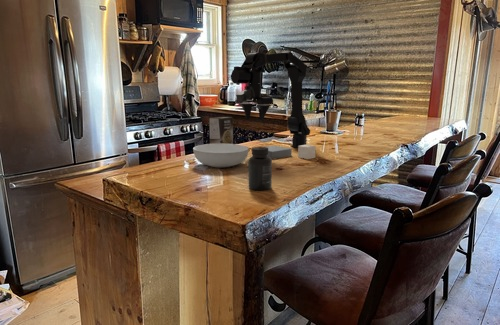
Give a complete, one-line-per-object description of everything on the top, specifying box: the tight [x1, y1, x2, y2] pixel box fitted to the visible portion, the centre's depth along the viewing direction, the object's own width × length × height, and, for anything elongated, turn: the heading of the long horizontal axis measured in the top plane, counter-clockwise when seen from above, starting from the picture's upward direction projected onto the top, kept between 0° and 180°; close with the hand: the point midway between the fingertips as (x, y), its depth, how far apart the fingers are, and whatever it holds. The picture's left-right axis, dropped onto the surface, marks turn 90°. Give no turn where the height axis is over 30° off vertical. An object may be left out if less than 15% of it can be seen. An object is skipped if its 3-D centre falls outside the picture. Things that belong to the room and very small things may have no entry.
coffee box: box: [209, 116, 234, 144], centre depth 157 cm, size 9×6×16 cm
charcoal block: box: [266, 145, 293, 160], centre depth 155 cm, size 11×11×4 cm
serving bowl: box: [192, 143, 250, 169], centre depth 137 cm, size 21×21×7 cm
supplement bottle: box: [247, 146, 273, 192], centre depth 106 cm, size 7×7×12 cm
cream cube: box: [297, 144, 316, 160], centre depth 151 cm, size 5×5×5 cm
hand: (254, 120), depth 156 cm, fingers open, 9 cm apart
